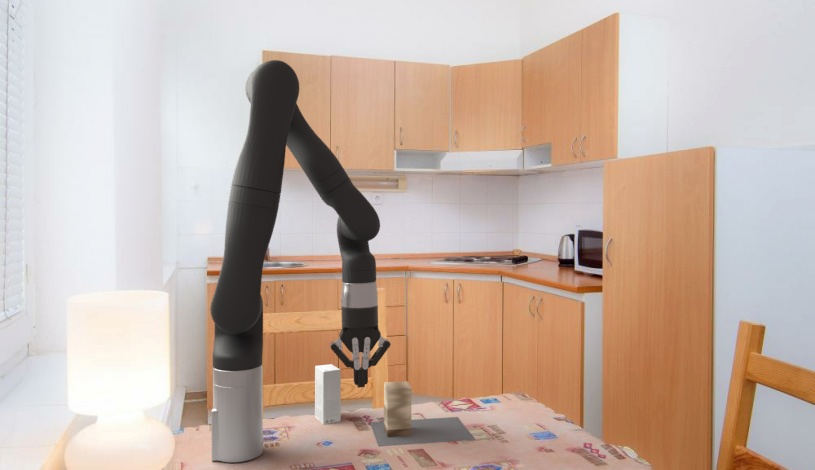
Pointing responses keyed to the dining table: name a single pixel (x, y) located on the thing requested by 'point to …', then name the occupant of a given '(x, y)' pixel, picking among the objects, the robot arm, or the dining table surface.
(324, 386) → the skincare box
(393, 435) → the birch block
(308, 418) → the dining table surface
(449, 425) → the mat
